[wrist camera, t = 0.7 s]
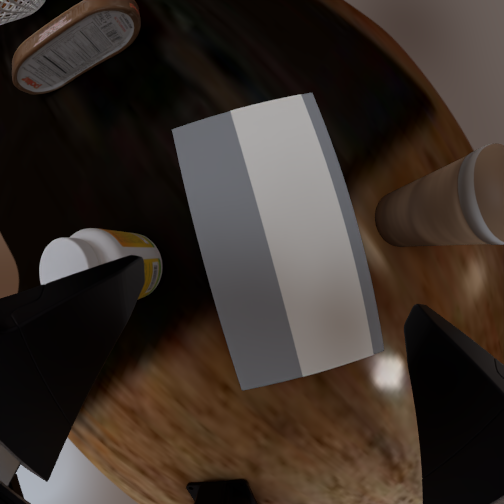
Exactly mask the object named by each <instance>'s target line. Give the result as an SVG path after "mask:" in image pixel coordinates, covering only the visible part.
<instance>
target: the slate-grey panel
mask: <svg viewBox="0 0 504 504" xmlns="http://www.w3.org/2000/svg"><path fill="white" fill-rule="evenodd" d="M172 132H173V136H174V141H175V146H176V151H177V155H178V160H179V164H180V169H181V173H182V177H183V182H184V186H185V190H186V195H187V199H188V203H189V207H190V211H191V215H192V219H193V223H194V227H195V231H196V235H197V239H198V243H199V247H200V250H201V254H202V258H203V262H204V265H205V269H206V273H207V276H208V280H209V284H210V287H211V291H212V294H213V298H214V301H215V305H216V308H217V312H218V315H219V319H220V322H221V325H222V329H223V332H224V335H225V339H226V342H227V345H228V348H229V352H230V355H231V358H232V361H233V364H234V367H235V370H236V374H237V377H238V380H239V383H240V386H241V389H242V390H247V389H252V388H257V387H262V386H266V385H271V384H275V383H279V382H283V381H287V380H291V379H295V378H299V377H304V376H308V375H312V374H315V373H319V372H322V371H326V370H329V369H332V368H336V367H339V366H342V365H345V364H348V363H351V362H354V361H357V360H360V359H363V358H366V357H369V356H372V355H374V354H376V353H379V352H382V351H384V345H383V339H382V333H381V327H380V321H379V316H378V311H377V305H376V300H375V295H374V291H373V286H372V281H371V277H370V272H369V268H368V264H367V259H366V255H365V251H364V247H363V243H362V239H361V236H360V232H359V228H358V224H357V221H356V217H355V214H354V210H353V207H352V203H351V200H350V197H349V193H348V190H347V187H346V184H345V181H344V178H343V175H342V171H341V168H340V165H339V162H338V160H337V157H336V154H335V151H334V148H333V145H332V142H331V140H330V137H329V134H328V132H327V129H326V126H325V124H324V121H323V118H322V116H321V113H320V111H319V108H318V106H317V103H316V101H315V99H314V96H313V94H312V93H308V94H303V95H301V94H300V95H295V96H290V97H285V98H280V99H276V100H271V101H267V102H263V103H258V104H254V105H250V106H246V107H243V108H239V109H235V110H231V111H229V112H226V113H222V114H219V115H216V116H212V117H209V118H206V119H202V120H199V121H196V122H193V123H190V124H187V125H184V126H181V127H178V128H175V129H173V130H172Z"/></svg>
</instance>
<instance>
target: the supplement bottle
mask: <svg viewBox="0 0 504 504" xmlns="http://www.w3.org/2000/svg"><path fill="white" fill-rule="evenodd" d="M129 255H136V256H141V257H142V258H143V260H144V271H145V283H144V286H143V289H142V291H141V293H140V295H139V297H138V299H140V298H143V297H145V296H147V295H149V294H150V293H151V292H152V291H153V290H154V289H155V288H156V287H157V285H158V283H159V281H160V279H161V275H162V259H161V255H160V253H159V251H158V249H157V247H156V246H155V244H154V243H153V242H152V241H151V240H149V239H148V238H147V237H145V236H143V235H140V234H136V233H129V232H120V231H112V230H105V229H96V228H88V229H83V230H80V231H78V232H76V233H74V234H73V235H72V236H71V237H70V238H58V239H55V240H53V241H52V242H51V243H50V244H49V245H48V246H47V247H46V248H45V250H44V252H43V254H42V257H41V261H40V268H39V273H40V282H41V285H43V284H45V285H46V283H49V282H52V281H55V280H57V279H60V278H63V277H66V276H69V275H72V274H75V273H78V272H81V271H83V270H86V269H89V268H92V267H95V266H98V265H101V264H104V263H107V262H110V261H113V260H116V259H119V258H122V257H126V256H129Z"/></svg>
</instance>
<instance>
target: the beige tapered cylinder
mask: <svg viewBox="0 0 504 504" xmlns="http://www.w3.org/2000/svg"><path fill="white" fill-rule="evenodd" d="M375 222H376V226H377V229H378V231H379V233H380V235H381V236H382V238H383V239H384V240H385V241H386V242H388V243H389V244H391V245H394V246H399V247H404V246H436V245H469V244H491V245H504V145H501V144H489V145H486V146H484V147H482V148H480V149H478V150H476V151H474V152H472V153H470V154H469V155H468V156H466V157H464V158H462V159H460V160H458V161H455V162H453V163H451V164H449V165H447V166H445V167H443V168H441V169H439V170H437V171H435V172H433V173H431V174H429V175H427V176H424V177H422V178H420V179H418V180H416V181H414V182H412V183H410V184H408V185H406V186H404V187H402V188H399V189H397V190H395V191H393V192H391V193H389V194H387V195H386V196H384V197H383V198H382V199H381V200H380V202H379V203H378V206H377V208H376V213H375Z"/></svg>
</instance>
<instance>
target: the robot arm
mask: <svg viewBox="0 0 504 504" xmlns="http://www.w3.org/2000/svg"><path fill="white" fill-rule="evenodd" d="M144 283H145V271H144V260H143V258H142V257H141V256H136V255H129V256H126V257H122V258H119V259H116V260H113V261H110V262H107V263H104V264H101V265H98V266H95V267H92V268H89V269H86V270H83V271H81V272H78V273H75V274H72V275H69V276H66V277H63V278H60V279H57V280H55V281H52V282H49V283H46V285H45V284H43V285H40V286H38V287H35V288H32V289H29V290H26V291H23V292H20V293H17V294H14V295H10V296H7V297H4V298H1V299H0V504H31V503H29V502H27V501H26V500H25V499H24V497H23V494H22V491H21V488H20V485H19V481H18V478H17V474H15V473H16V472H17V470H18V468H19V466H20V464H21V465H22V466H24V467H25V468H27V469H28V470H30V471H31V472H33V473H34V474H36V475H37V476H39V477H40V478H42V479H43V480H45V481H48V480H49V478H50V475H51V473H52V471H53V468H54V466H55V464H56V461H57V459H58V457H59V454H60V452H61V450H62V448H63V445H64V443H65V441H66V439H67V437H68V435H69V432H70V430H71V428H72V427H71V426H73V423H74V421H75V419H76V417H77V415H78V413H79V411H80V409H81V407H82V405H83V403H84V401H85V399H86V397H87V395H88V393H89V391H90V389H91V387H92V385H93V383H94V382H95V380H96V378H97V376H98V374H99V372H100V370H101V368H102V367H103V365H104V363H105V361H106V359H107V357H108V356H109V354H110V352H111V350H112V348H113V346H114V345H115V343H116V341H117V339H118V338H119V336H120V334H121V332H122V331H123V329H124V327H125V325H126V324H127V322H128V320H129V318H130V315H131V313H132V311H133V309H134V306H135V304H136V302H137V300H138V297H139V295H140V293H141V291H142V289H143V286H144ZM404 335H405V343H406V352H407V362H408V369H409V375H410V380H411V386H412V392H413V398H414V404H415V411H416V418H417V425H418V434H419V443H420V453H421V466H422V478H423V479H422V487H423V504H504V365H503V364H502V363H500V362H499V361H498V360H497V359H496V358H494V357H493V356H492V355H491V354H489V353H488V352H487V351H486V350H484V349H483V348H482V347H480V346H479V345H478V344H477V343H475V342H474V341H473V340H472V339H470V338H469V337H468V336H466V335H465V334H464V333H463V332H461V331H460V330H459V329H457V328H456V327H455V326H453V325H452V324H451V323H449V322H448V321H447V320H445V319H444V318H443V317H441V316H440V315H439V314H437V313H436V312H435V311H433V310H432V309H431V308H429V307H428V306H426V305H422V304H416V305H414V306H413V308H412V310H411V312H410V314H409V316H408V318H407V320H406V322H405V325H404ZM186 488H187V490H188V492H189V493H190V495H191V496H192V498H193V500H194V501H195V502H194V504H257V502H256V500H255V498H254V496H253V493H252V491H251V489H250V487H249V485H248V483H247V481H245V480H233V481H222V482H206V483H188V484H187V487H186Z"/></svg>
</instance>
